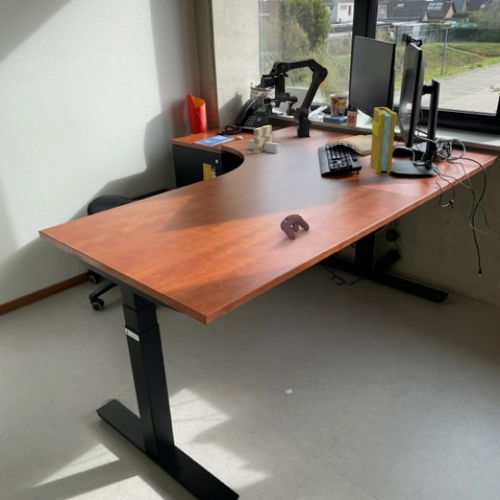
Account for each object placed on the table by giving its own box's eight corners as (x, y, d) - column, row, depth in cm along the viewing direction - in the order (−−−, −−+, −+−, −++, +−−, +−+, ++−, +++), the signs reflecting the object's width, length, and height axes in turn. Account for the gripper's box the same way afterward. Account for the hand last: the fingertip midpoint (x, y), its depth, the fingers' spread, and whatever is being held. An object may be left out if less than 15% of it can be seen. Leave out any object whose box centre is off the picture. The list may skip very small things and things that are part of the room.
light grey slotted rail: (249, 148, 255) (248, 140, 253) (251, 147, 256) (251, 139, 254) (276, 153, 244) (275, 144, 242) (278, 152, 245) (278, 143, 243)
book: (391, 173, 206) (397, 113, 195) (375, 173, 206) (380, 114, 196) (382, 162, 221) (387, 106, 210) (368, 162, 222) (371, 107, 211)
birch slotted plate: (268, 147, 255) (267, 125, 249) (271, 148, 253) (271, 125, 248) (254, 152, 247) (253, 129, 242) (258, 153, 245) (257, 129, 240)
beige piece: (347, 143, 260) (323, 147, 248) (349, 129, 257) (325, 132, 245) (385, 152, 243) (361, 157, 231) (388, 138, 240) (363, 141, 228)
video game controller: (300, 231, 158) (292, 212, 157) (311, 228, 155) (303, 208, 154) (284, 242, 152) (275, 222, 151) (295, 239, 148) (286, 218, 147)
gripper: (264, 89, 250) (265, 119, 257) (299, 87, 251) (299, 117, 258) (261, 86, 260) (262, 116, 267) (295, 84, 261) (295, 114, 268)
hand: (280, 116), depth 265 cm, fingers open, 9 cm apart
